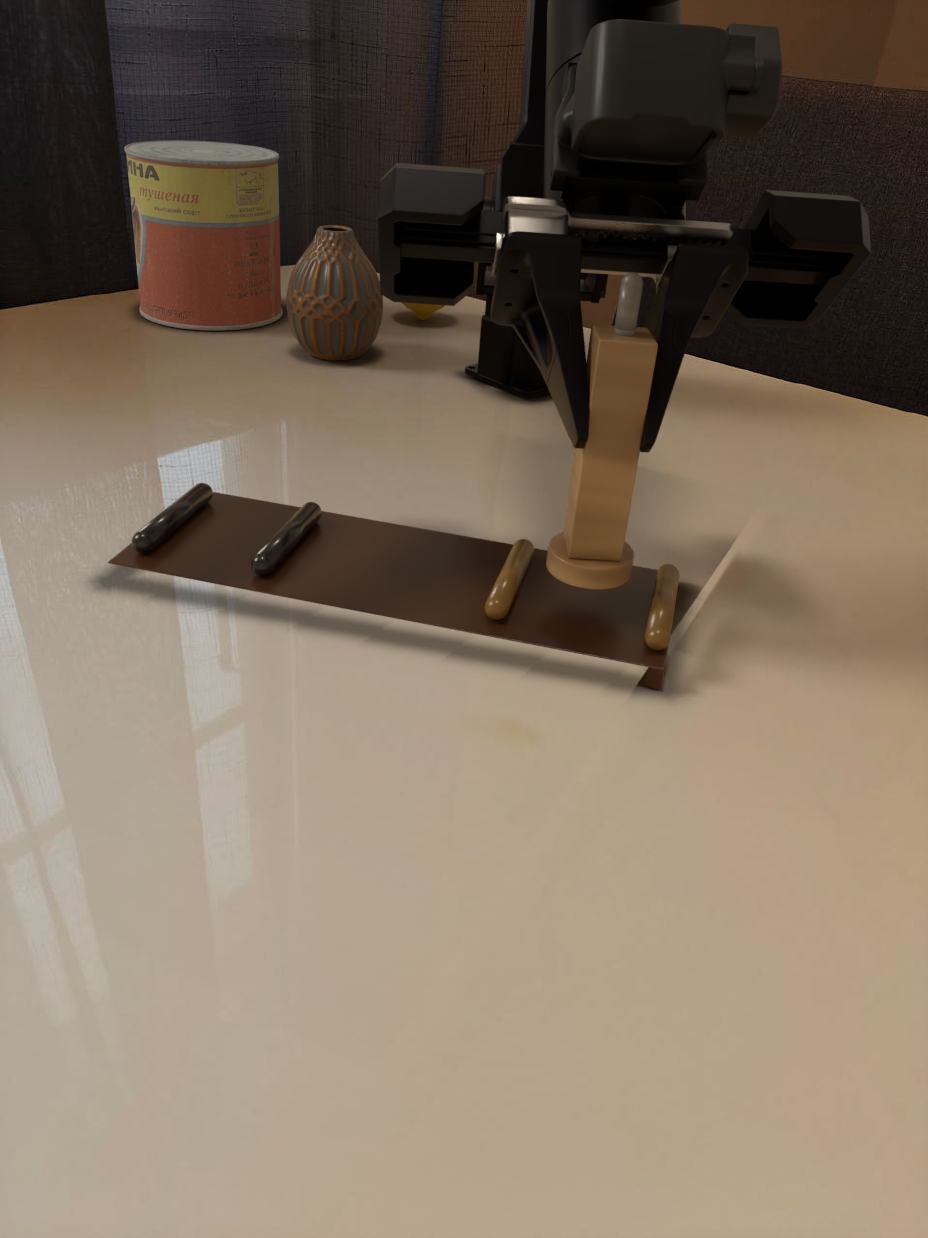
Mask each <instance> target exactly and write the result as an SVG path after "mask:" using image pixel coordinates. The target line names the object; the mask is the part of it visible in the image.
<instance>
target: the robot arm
mask: <svg viewBox="0 0 928 1238" xmlns="http://www.w3.org/2000/svg"><path fill="white" fill-rule="evenodd" d="M682 6H683V5H682V0H527V2H526V19H525V32H524V33H525V34H524V48H523V61H522V62H523V63H522V76H521V77H522V78H521V92H520V93H521V94H520V111H519V125H518V131H517V133H516V134H515V135H514V138H513V139H512V141H511V142H510V144H509V145H508V147H507V149H506V150H505V151H504V153H503V155H502V156H501V157H500V160H499V161H498V163H497V164H496V169H495V172H494V175H493V178H492V183H491V193H490V194H491V195H490V197H486V196H485V194H486V171H485V169H484V168H472V167H471V168H469V167H458V166H445V165H444V166H443V165H431V164H430V165H429V164H416V163H403V162H396V163H395V164H394V165H393V166H391V168H390V169H389V170H388V171H387V172H386V173H385V174H384V175H383V176H382V177H381V179H380V181H379V194H378V195H379V196H378V211H377V212H378V213H377V228H378V229H377V234H378V235H377V236H378V237H377V238H378V266H379V267H378V269H379V270H378V271H379V281H380V294H381V295H383V298H384V297H385V298H386V299H388V300H390V301H391V302H393V303H401V304H402V303H416V304H431V305H446V306H450V307H454V306H456V305H457V304H459V302H460V301H462V300H463V299H465V298H466V297H467V296H468V295H470V293H472V292H473V289H474V293H475V296H482V297H483V296H484V295H485V306H484V314H483V315H482V316H481V320H480V333H479V344H478V357H477V363H473V364H470V365H469V364H468V365H466V366H465V367H464V374H465V375H467V376H470V377H472V378H474V379H476V380H479V381H482V382H484V383H487V384H489V385H492V386H494V387H496V388H499V389H501V390H504V391H507V392H509V393H512V394H514V395H516V396H519V397H521V398H526V399H527V398H534V397H539V396H542V395H547V394H550V396H551V398H552V400H553V403H554V405H555V408H556V410H557V412H558V415H559V417H560V419H561V421H562V424H563V426H564V429H565V431H566V433H567V435H568V438H569V440H570V442H571V445H572V447H573V448H574V449H575V448H578V449H583V448H584V447H585V445H586V443H587V441H588V435H589V412H590V408H589V402H590V396H589V385H588V374H587V364H586V362H587V355H586V343H585V333H584V324H583V311H582V302H590V303H591V304H600V300H601V299H604V298H606V293H607V286H608V280H609V275H614V276H615V275H616V276H625V275H626V274H628V273H631V272H635V273H637V274H639V275H640V276H641V277H642V278H652V279H653V281H654V283H655V295H654V298H653V300H652V302H651V305H650V306H649V309H648V311H647V314H646V315H645V317H644V320H643V322H642V324H641V327H642V328H648V329H649V331H650V333H651V334H652V336H653V337H654V339H655V340H656V342H657V343H658V349H657V355H656V361H655V367H654V372H653V378H652V384H651V390H650V396H649V402H648V407H647V412H646V417H645V423H644V429H643V435H642V441H641V447H640V453H650V452H651V450H652V449H653V447H654V445H655V444H656V441H657V438H658V435H659V433H660V429H661V426H662V423H663V420H664V417H665V414H666V411H667V408H668V405H669V403H670V399H671V396H672V393H673V390H674V387H675V384H676V381H677V378H678V376H679V375H678V374H679V372H680V369H681V366H682V363H683V360H684V358H685V354H686V351H687V349H688V347H689V343H690V342H691V339H693V338H694V339H700V338H701V339H702V338H706V337H708V336H710V335H712V334H713V333H714V332H715V329H716V328H717V326H718V325H719V323H720V321H721V320H722V318H723V316H724V315H725V313H726V311H727V312H728V313H729V314H730V315H731V316H732V317H733V318H734V319H735V320H736V321H737V322H738V323H739V324H740V325H741V326H752V327H769V328H782V329H797V330H800V329H803V328H804V329H805V328H807V327H809V326H813V325H815V324H818V323H819V322H820V320H821V319H822V318H823V317H824V316H825V314H826V313H827V312H828V311H829V309H830V307H831V306H832V305H833V304H834V302H835V301H836V300H837V299H838V297H839V296H840V295H841V293H842V292H843V291H844V289H845V288H846V287H847V286H848V284H849V283H850V282H851V280H852V279H853V278H854V277H855V275H856V274H857V273H858V272H859V270H860V269H861V267H862V266H863V265H864V263H865V262H866V261H867V260H868V259H869V257H870V256H871V255H872V247H871V234H870V220H869V218H870V217H869V215H868V213H867V211H866V209H865V208H864V206H863V204H862V202H861V201H860V200H858V199H856V198H854V197H852V196H849V195H844V194H843V195H841V194H828V193H814V192H800V191H787V190H773V189H772V190H771V189H764V190H763V192H762V194H761V196H760V198H759V199H758V201H757V203H756V205H755V207H754V209H753V210H752V212H751V214H750V216H749V217H748V220H747V221H746V223H745V225H744V227H743V228H739V227H734V226H733V224H732V223H730V222H729V223H728V222H716V221H705V220H704V221H703V220H687V201H691V202H699V201H700V199H701V196H702V194H703V192H704V191H705V190H704V189H705V188H706V185H707V183H708V150H709V149H711V147H712V146H713V145H714V143H715V142H716V143H717V142H720V141H721V140H722V139H723V138H724V137H730V138H731V137H732V138H743V139H754V138H755V137H757V136H758V134H760V132H761V131H762V130H763V129H764V128H765V127H766V126H767V125H768V124H769V123H770V122H771V121H772V119H773V118H774V117H775V116H776V113H777V110H778V107H779V104H780V100H781V90H782V78H783V67H784V65H783V55H782V45H781V38H780V37H781V36H780V28H779V27H778V26H771V25H769V26H768V25H756V24H744V23H730V24H729V25H728V26H727V28H726V29H724V28H720V27H717V26H710V25H699V24H689V23H683V10H682V9H683V7H682ZM487 267H491V270H487ZM446 306H445V307H446Z"/></svg>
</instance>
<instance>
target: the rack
mask: <svg viewBox="0 0 928 1238" xmlns="http://www.w3.org/2000/svg"><path fill="white" fill-rule="evenodd" d="M130 541H131V543H130V544H128V545H127V546H126V547H125V548H123V549H122V550H121V551H119V552H118V553H117V554H116V555H115V556H114V557H112V558H111V559H110V560H109V561H108V562H107V564H110V565H116V566H121V567H125V568H131V569H137V570H142V571H146V572H152V573H156V574H157V573H158V574H162V575H168V576H171V577H178V578H183V579H188V580H194V581H199V582H204V583H209V584H214V585H219V586H224V587H230V588H235V589H241V590H245V591H251V592H256V593H261V594H267V595H272V596H277V597H282V598H287V599H293V600H298V601H303V602H308V603H313V604H318V605H324V606H328V607H334V608H338V609H344V610H349V611H355V612H360V613H366V614H370V615H376V616H379V617H380V616H381V617H387V618H392V619H396V620H401V621H406V622H411V623H418V624H423V625H427V626H433V627H438V628H443V629H448V630H454V631H459V632H464V633H470V634H475V635H480V636H485V637H489V638H496V639H500V640H505V641H510V642H516V643H521V644H526V645H532V646H536V647H542V648H547V649H553V650H557V651H563V652H568V653H573V654H578V655H584V656H587V657H588V656H589V657H593V658H599V659H605V660H609V661H615V662H619V663H626V664H630V665H635V666H641V667H647V669H646V670H645V671H644V673H643V675H642V676H641V677H640V679H639V680H638V682H637V684H636V686H639V687H640V686H641V687H644V688H650V689H656V690H661V689H662V686H663V681H664V677H665V672H666V665H667V660H668V652H669V646H670V642H671V636H672V631H673V630H672V629H673V623H674V616H675V608H676V601H677V595H678V587H679V581H680V571H679V569H678V567H677V566H676V565H674V564H671V563H665V564H662V565H661V566H660V567H659V568H658V569H656V568H649V567H643V566H638V565H633V566H632V572H631V576H630V578H629V580H628V581H627V582H626V583H625V584H623V585H621V586H619V587H615V588H611V589H602V590H593V589H584V588H579V587H575V586H571V585H569V584H566V583H564V582H562V581H560V580H558V579H556V578H555V577H554V576H553V575H551V573H550V572H549V571H548V569H547V566H546V560H547V552H548V549H547V550H546V549H541V548H535V547H534V544H533V542H531V540H529V539H527V538H519V539H517V540H516V541H515V542H514V543H513V544H512V543H506V542H503V541H501V542H500V541H496V540H495V541H494V540H489V539H484V538H478V537H473V536H467V535H461V534H456V533H449V532H445V531H444V532H443V531H439V530H434V529H433V530H432V529H427V528H421V527H415V526H410V525H403V524H398V523H393V522H387V521H381V520H376V519H371V518H370V519H369V518H364V517H359V516H353V515H347V514H342V513H337V512H336V513H335V512H330V511H326V510H325V511H324V510H322V507H321V506H320V505H319V504H318V503H317V502H315V501H307V502H306V503H304V504H302V505H301V506H296V505H291V504H284V503H278V502H272V501H268V500H261V499H255V498H251V497H250V498H249V497H245V496H239V495H233V494H228V493H222V492H215V491H213V488H212V487H211V485H209V484H208V483H206V482H199V483H195V485H194V486H192V487H191V488H190V489H189V490H187V491H186V492H185V493H184V494H182V495H181V496H180V497H179V498H177V499H176V500H175V501H174V502H173V503H171V504H170V505H168V506H167V507H166V508H165V509H164V510H162V511H161V512H160V513H158V514H157V515H156V516H155V517H153V518H152V519H151V520H150V521H149V522H147V523H146V524H145V525H143V527H141V528H140V529H139V530H138V531H136V532H135V533H134V534H133V536H132V537H131V540H130Z"/></svg>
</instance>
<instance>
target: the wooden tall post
mask: <svg viewBox="0 0 928 1238" xmlns="http://www.w3.org/2000/svg"><path fill="white" fill-rule="evenodd" d="M643 288H644V280H643V277H641V276H640V275H639V274H637V273H635V272H631V273H628V274H626V275H623V277H622V278H621V280H620V287H619V293H618V300H617V307H616V314H615V321H614V325H609V324H595V323H594V324H591V327H590V333H589V341H588V348H587V355H586V364H587V374H588V385H589V396H590V402H589V408H590V412H589V435H588V441H587V443H586V445H585V447H584V448H583V449H578V448H574V451H573V460H572V467H571V474H570V481H569V488H568V495H567V503H566V510H565V518H564V524H563V525H564V526H563V531H561V532H559V533H557V534H555V535H554V536H552V538H551V539H550V540H549V542H548V545H547V551H548V552H547V560H546V566H547V569H548V571H549V572H550V573H551V575H553V576H554V577H555V578H556V579H558V580H560V581H562V582H564V583H566V584H569V585H571V586H575V587H579V588H584V589H593V590H602V589H611V588H615V587H619V586H621V585H623V584H625V583H626V582H627V581H628V580H629V578H630V576H631V572H632V566H634V562H635V561H634V560H635V552H634V550H633V548H632V546H631V545H630V544H629V543H628V542H626V536H627V535H626V534H627V529H628V524H629V517H630V511H631V506H632V500H633V496H634V495H633V494H634V488H635V484H636V483H635V482H636V477H637V470H638V466H639V465H638V464H639V459H640V454H641V452H640V447H641V441H642V435H643V429H644V423H645V417H646V412H647V407H648V402H649V396H650V390H651V384H652V378H653V372H654V367H655V361H656V355H657V349H658V343H657V342H656V340H655V339H654V337H653V336H652V334H651V333H650V331H649V329H648V328H642V326H641V327H640V326H638V320H639V319H638V318H639V314H640V306H641V301H642V294H643Z"/></svg>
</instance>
